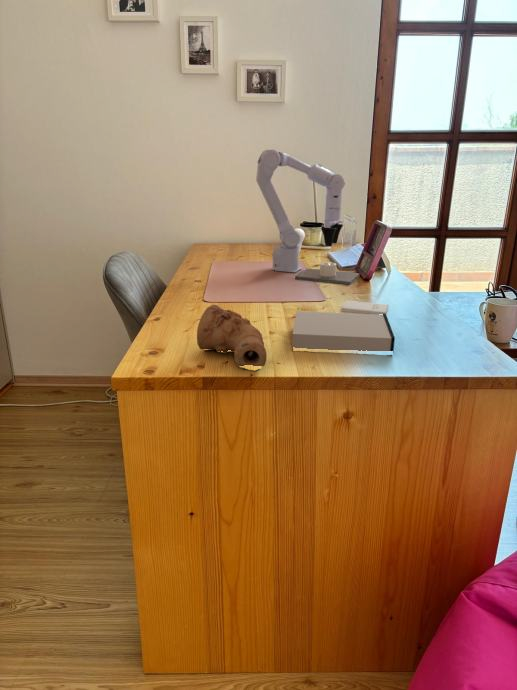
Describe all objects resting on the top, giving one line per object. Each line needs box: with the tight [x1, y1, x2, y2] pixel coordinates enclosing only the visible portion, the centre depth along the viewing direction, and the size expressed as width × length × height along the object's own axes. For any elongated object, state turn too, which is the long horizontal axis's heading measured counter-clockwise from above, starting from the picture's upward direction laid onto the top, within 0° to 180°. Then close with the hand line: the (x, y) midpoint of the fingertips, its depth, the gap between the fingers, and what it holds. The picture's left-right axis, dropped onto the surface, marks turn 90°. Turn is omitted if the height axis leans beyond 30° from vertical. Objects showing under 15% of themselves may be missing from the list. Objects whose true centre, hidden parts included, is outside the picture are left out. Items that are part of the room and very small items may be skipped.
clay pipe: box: [196, 304, 268, 367], centre depth 110 cm, size 19×11×15 cm
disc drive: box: [291, 310, 396, 352], centre depth 121 cm, size 18×22×5 cm
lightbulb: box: [294, 228, 306, 253], centre depth 224 cm, size 6×6×11 cm
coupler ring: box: [319, 261, 337, 277], centre depth 182 cm, size 6×6×4 cm
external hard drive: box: [340, 300, 389, 315], centre depth 146 cm, size 2×8×12 cm
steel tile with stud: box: [294, 263, 360, 285], centre depth 182 cm, size 20×14×5 cm
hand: (331, 244), depth 193 cm, fingers open, 7 cm apart
